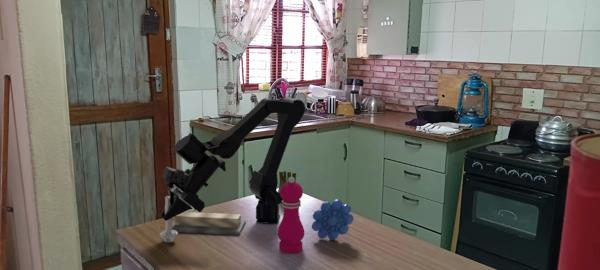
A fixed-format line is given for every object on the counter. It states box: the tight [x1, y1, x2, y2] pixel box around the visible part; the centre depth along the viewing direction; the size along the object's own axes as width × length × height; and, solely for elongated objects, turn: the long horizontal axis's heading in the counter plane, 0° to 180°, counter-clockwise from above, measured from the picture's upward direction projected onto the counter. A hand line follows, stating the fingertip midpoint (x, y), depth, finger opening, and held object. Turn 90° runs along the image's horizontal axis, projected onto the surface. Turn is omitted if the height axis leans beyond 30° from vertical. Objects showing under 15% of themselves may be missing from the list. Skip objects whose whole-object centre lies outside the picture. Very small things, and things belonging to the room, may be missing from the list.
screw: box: [159, 195, 179, 243], centre depth 126 cm, size 13×5×5 cm
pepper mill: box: [276, 176, 305, 254], centre depth 122 cm, size 7×7×20 cm
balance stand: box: [172, 211, 247, 236], centre depth 137 cm, size 21×9×4 cm, turn 85°
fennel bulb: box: [277, 170, 297, 205], centre depth 157 cm, size 6×5×12 cm
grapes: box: [311, 198, 354, 241], centre depth 130 cm, size 12×7×12 cm, turn 85°
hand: (163, 218), depth 126 cm, fingers closed on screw, 2 cm apart
